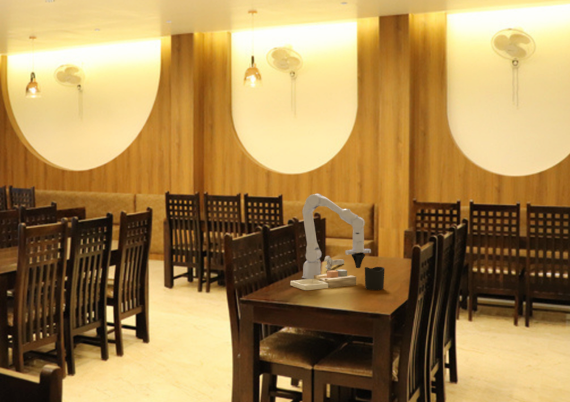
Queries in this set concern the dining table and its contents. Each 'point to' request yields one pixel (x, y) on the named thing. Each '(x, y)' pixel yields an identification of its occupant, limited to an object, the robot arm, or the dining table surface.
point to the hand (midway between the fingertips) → (358, 267)
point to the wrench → (332, 262)
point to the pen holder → (374, 278)
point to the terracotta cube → (332, 274)
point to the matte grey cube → (342, 273)
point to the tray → (309, 284)
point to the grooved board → (336, 280)
